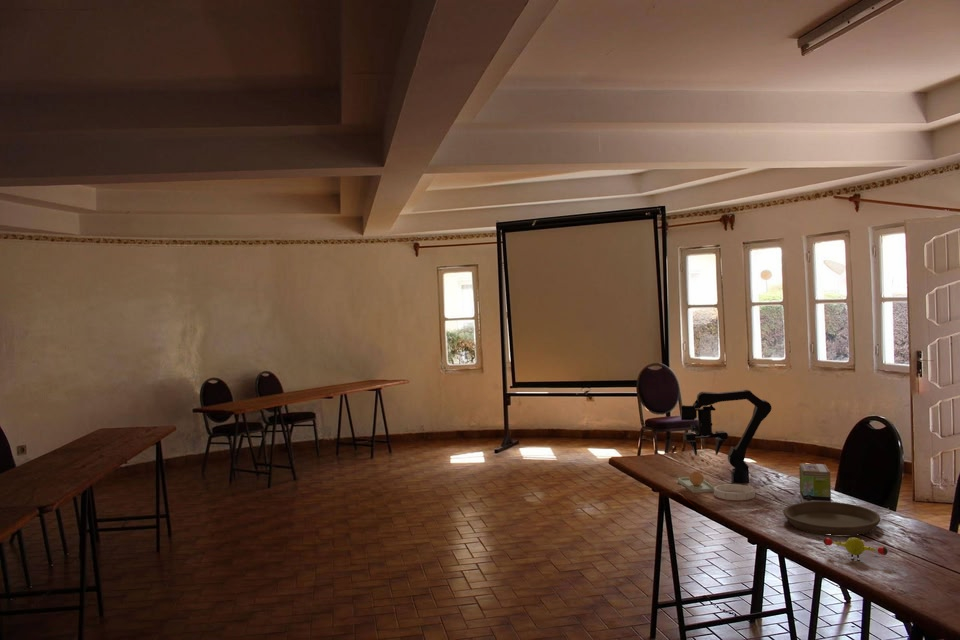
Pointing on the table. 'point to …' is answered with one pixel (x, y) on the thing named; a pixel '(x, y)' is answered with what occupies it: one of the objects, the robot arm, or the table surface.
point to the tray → (700, 488)
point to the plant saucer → (831, 518)
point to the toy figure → (855, 546)
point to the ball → (696, 478)
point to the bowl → (734, 492)
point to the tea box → (815, 483)
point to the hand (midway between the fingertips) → (706, 455)
